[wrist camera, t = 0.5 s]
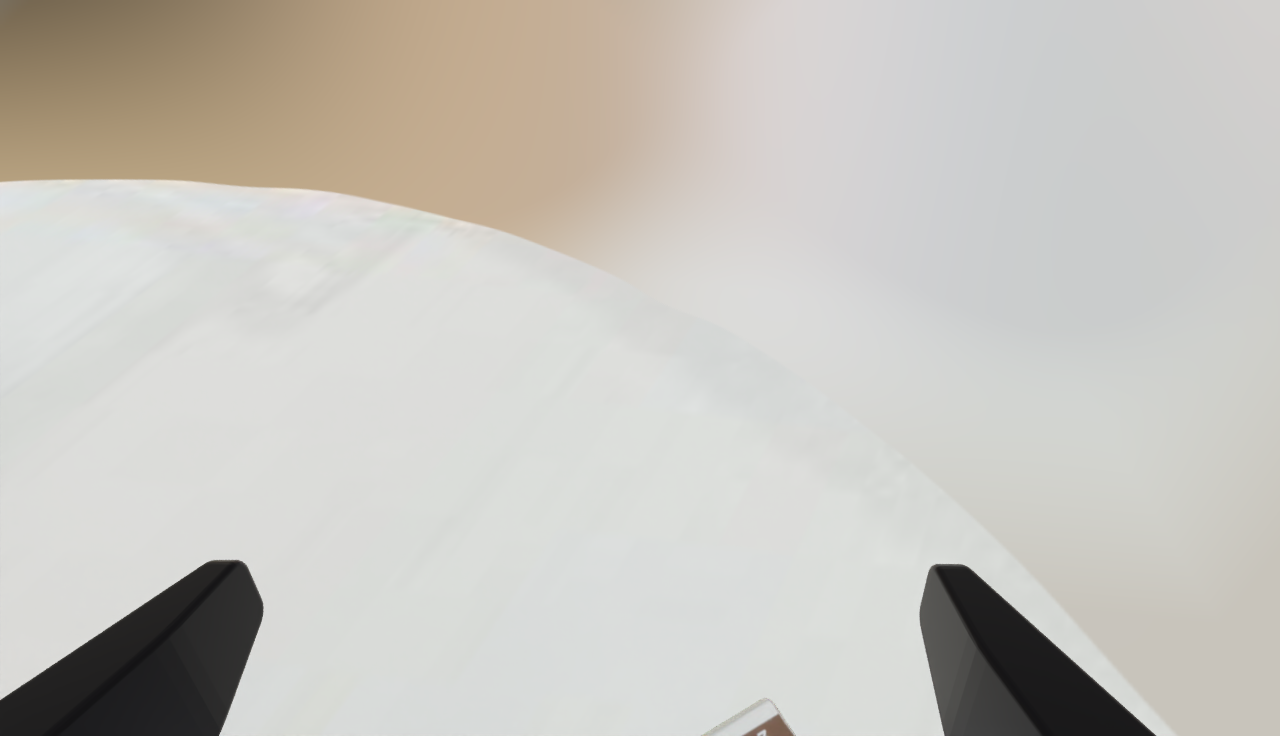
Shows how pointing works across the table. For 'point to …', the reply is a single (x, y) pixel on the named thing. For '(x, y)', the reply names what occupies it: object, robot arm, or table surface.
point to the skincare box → (754, 722)
